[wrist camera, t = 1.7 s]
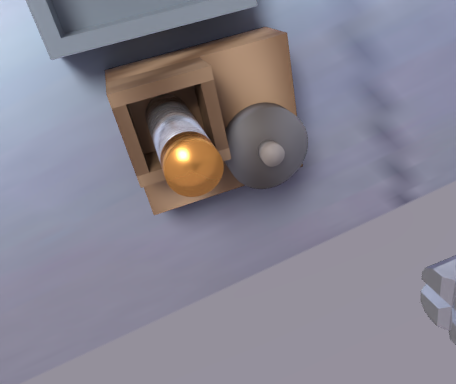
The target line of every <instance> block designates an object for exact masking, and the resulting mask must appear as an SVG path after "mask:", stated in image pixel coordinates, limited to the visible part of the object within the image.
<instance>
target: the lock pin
mask: <svg viewBox="0 0 456 384" xmlns="http://www.w3.org/2000/svg"><path fill="white" fill-rule="evenodd" d="M145 118H146V122H147V125H148V128H149V131H150V134H151V137H152V140H153V143H154V146H155V149H156V152H157V155H158V158H159V161H160V164H161V167H162V170H163V173H164V176H165V179H166V181H167V184H168V185H169V187H170V188H171V189H172V190H173V191H174V192H176V193H177V194H179V195H182V196H186V197H198V196H202V195H204V194H206V193H208V192H210V191H211V190H213V189H214V188H215V187H216V186H217V184H218V183H219V182H220V180H221V178H222V175H223V170H224V164H223V160H222V157H221V155H220V154H219V152H218V151H217V149H216V148H215V146H214V145H213V143H212V142H211V141H210V139H209V138H208V136H207V135H206V133H205V132H204V130H203V129H202V128H201V126H200V125H199V123H198V122H197V120H196V119H195V118H194V116H193V115H192V113H191V112H190V110H189V109H188V107H187V106H186V105H185V103H184V102H183V101H182V100H181V99H180V98H179V97H177V96H175V95H173V94H162V95H158V96H156V97H155V98H153V99H152V100H151V101H150V102H149V104H148V105H147V108H146V112H145Z"/></svg>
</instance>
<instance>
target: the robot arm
mask: <svg viewBox="0 0 456 384" xmlns="http://www.w3.org/2000/svg"><path fill="white" fill-rule="evenodd" d="M422 280H423V281H424V282H425V283H426V285H425V286H424V287H423V289H422V290H421V303H422V305H423V308H424V311H425V312H426V314H427V315H428V317H429V318H430V319H431V320H432V321H433V322H434V323H435V325H437V326H438V327H441V328H444V329H447V330H449V335H450V340H451V341H452V342H453V343H454V344H455V345H456V255H455V256H452V257H450V258H448V259H445V260H443V261H440V262H438V263H436V264H433V265H431V266H428V267H426V268H425V269H424V270H423V272H422Z"/></svg>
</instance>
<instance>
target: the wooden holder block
mask: <svg viewBox="0 0 456 384" xmlns="http://www.w3.org/2000/svg"><path fill="white" fill-rule="evenodd" d="M105 79H106V93H107V97H108V100H109V103H110V105H111V108H112V111H113V114H114V116H115V119H116V122H117V124H118V127H119V130H120V133H121V135H122V138H123V141H124V143H125V146H126V149H127V152H128V154H129V157H130V160H131V162H132V165H133V168H134V170H135V173H136V176H137V179H138V181H139V184H140V187H144V189H145V192H146V195H147V197H148V200H149V203H150V206H151V208H152V211H153V214H154V215H156V214H159V213H162V212H166V211H169V210H172V209H175V208H178V207H181V206H184V205H187V204H190V203H193V202H196V201H199V200H202V199H205V198H208V197H211V196H214V195H217V194H220V193H223V192H226V191H229V190H232V189H236V188H239V187H242V186H245V185H246V186H248V187H251V188H256V189H266V188H272V187H275V186H278V185H280V184H282V183H284V182H285V181H287V180H288V179H289V178H291V177H292V176H293V175H294V174H295V173H296V172H297V170H298V169H299V168H300V167H302V166H303V164H302V163H303V161H304V159H305V156H306V152H307V147H308V137H307V132H306V129H305V127H304V125H303V123H302V122H301V120H300V119H299V118H298V117H297V113H296V104H295V96H294V88H293V79H292V71H291V62H290V54H289V45H288V37H287V33H286V32H282V31H279V30H275V29H271V28H268V27H262V28H259V29H255V30H251V31H248V32H244V33H240V34H237V35H233V36H229V37H225V38H222V39H218V40H214V41H211V42H207V43H203V44H200V45H196V46H192V47H189V48H185V49H181V50H177V51H174V52H170V53H166V54H163V55H159V56H155V57H152V58H148V59H144V60H141V61H137V62H133V63H129V64H126V65H122V66H118V67H115V68H111V69H107V70H105ZM162 94H173V95H175V96H177V97H179V98H180V99H181V100H182V101H183V102H184V103H185V105H186V106H187V107H188V109H189V110H190V112H191V113H192V115H193V116H194V118H195V119H196V120H197V122H198V123H199V125H200V126H201V128H202V129H203V130H204V132H205V133H206V135H207V136H208V138H209V139H210V141H211V142H212V143H213V145H214V146H215V148H216V149H217V151H218V152H219V154H220V155H221V157H222V160H223V164H224V170H223V175H222V178H221V180H220V182H219V183H218V184H217V186H216V187H215V188H214V189H213V190H211V191H210V192H208V193H206V194H204V195H202V196H198V197H186V196H182V195H179V194H177V193H176V192H174V191H173V190H172V189H171V188H170V187H169V185H168V184H167V181H166V179H165V176H164V173H163V170H162V167H161V164H160V161H159V158H158V155H157V152H156V149H155V146H154V143H153V140H152V137H151V134H150V131H149V128H148V125H147V122H146V118H145V112H146V108H147V105H148V104H149V102H150V101H151V100H152V99H153V98H155V97H156V96H158V95H162Z"/></svg>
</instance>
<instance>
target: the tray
mask: <svg viewBox="0 0 456 384" xmlns="http://www.w3.org/2000/svg"><path fill="white" fill-rule="evenodd" d="M26 2H27V4H28V7H29V9H30V11H31V14H32V16H33V18H34V21H35V23H36V26H37V28H38V30H39V33H40V35H41V37H42V40H43V42H44V44H45V47H46V49H47V52H48V54H49V56H50V59H51V60H54V59H57V58H61V57H65V56H69V55H73V54H77V53H80V52H84V51H88V50H92V49H96V48H99V47H103V46H107V45H111V44H115V43H118V42H122V41H126V40H130V39H134V38H138V37H141V36H145V35H149V34H153V33H157V32H160V31H164V30H168V29H172V28H176V27H179V26H183V25H187V24H191V23H195V22H199V21H202V20H206V19H210V18H214V17H218V16H221V15H225V14H229V13H233V12H237V11H241V10H244V9H248V8H252V7H256V6H258V5H257V0H26Z"/></svg>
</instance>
